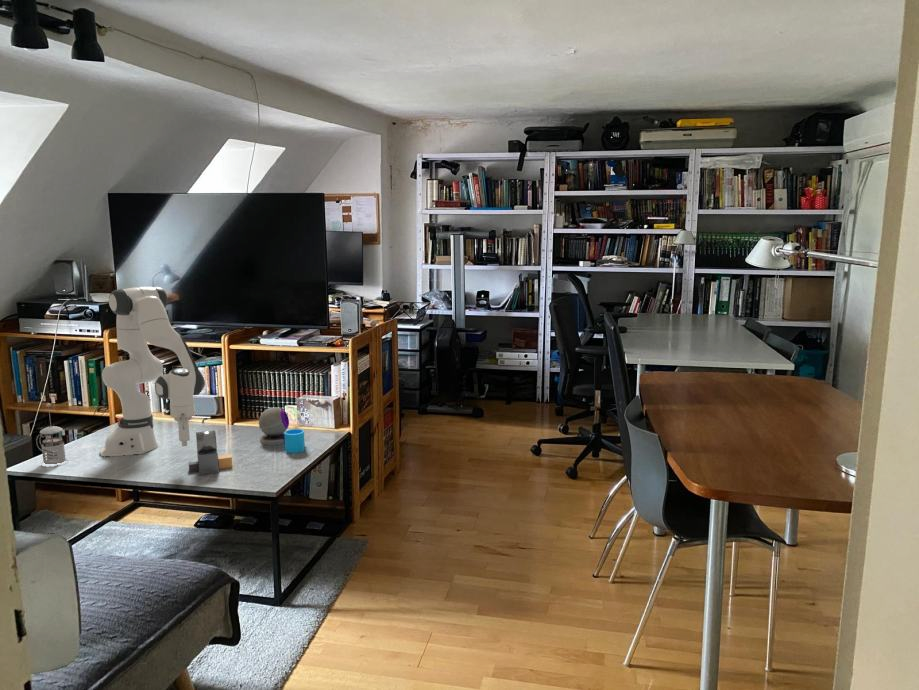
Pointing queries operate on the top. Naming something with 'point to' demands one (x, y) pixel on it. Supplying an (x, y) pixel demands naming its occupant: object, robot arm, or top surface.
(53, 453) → the french press
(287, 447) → the mug
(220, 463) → the plug
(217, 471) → the block
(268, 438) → the webcam
